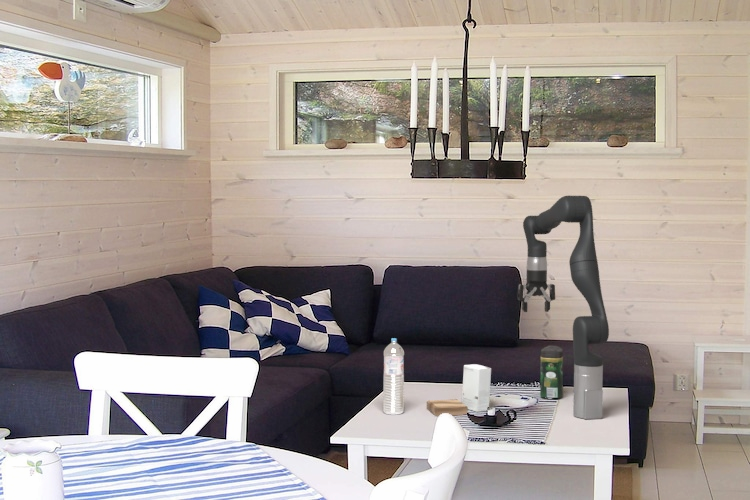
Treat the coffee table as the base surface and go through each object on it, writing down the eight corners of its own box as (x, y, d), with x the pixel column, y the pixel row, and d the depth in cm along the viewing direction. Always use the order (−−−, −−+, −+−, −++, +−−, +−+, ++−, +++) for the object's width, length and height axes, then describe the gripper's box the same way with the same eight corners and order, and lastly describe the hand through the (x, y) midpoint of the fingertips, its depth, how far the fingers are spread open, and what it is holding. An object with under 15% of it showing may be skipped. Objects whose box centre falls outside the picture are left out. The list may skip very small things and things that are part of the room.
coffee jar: (542, 393, 345) (542, 343, 344) (563, 395, 343) (564, 344, 342) (538, 399, 336) (539, 347, 335) (560, 400, 334) (561, 348, 333)
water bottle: (390, 409, 318) (391, 336, 317) (407, 412, 314) (408, 338, 313) (379, 413, 313) (379, 338, 311) (396, 416, 309) (396, 340, 307)
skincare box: (461, 407, 321) (461, 365, 320) (474, 405, 325) (474, 363, 324) (478, 412, 315) (478, 368, 314) (491, 410, 318) (491, 366, 317)
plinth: (467, 414, 311) (467, 405, 311) (435, 416, 309) (435, 407, 309) (457, 407, 322) (457, 398, 322) (426, 408, 320) (426, 400, 319)
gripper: (522, 269, 346) (521, 313, 347) (558, 269, 349) (557, 312, 350) (515, 268, 354) (514, 311, 355) (550, 267, 357) (549, 310, 358)
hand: (536, 311), depth 352 cm, fingers open, 8 cm apart
